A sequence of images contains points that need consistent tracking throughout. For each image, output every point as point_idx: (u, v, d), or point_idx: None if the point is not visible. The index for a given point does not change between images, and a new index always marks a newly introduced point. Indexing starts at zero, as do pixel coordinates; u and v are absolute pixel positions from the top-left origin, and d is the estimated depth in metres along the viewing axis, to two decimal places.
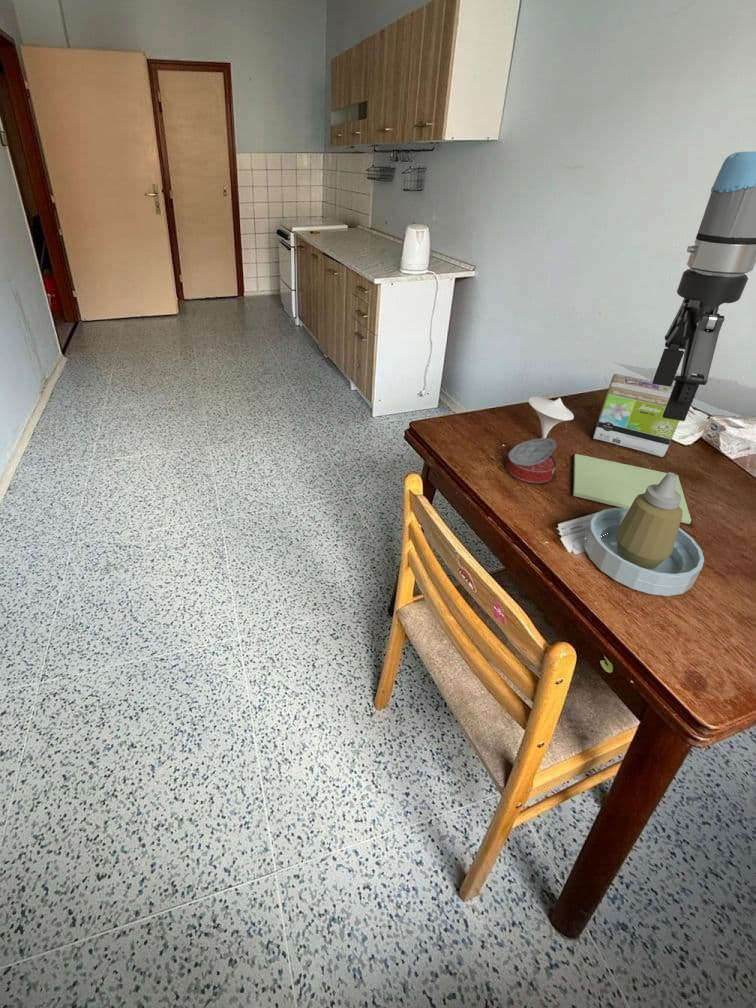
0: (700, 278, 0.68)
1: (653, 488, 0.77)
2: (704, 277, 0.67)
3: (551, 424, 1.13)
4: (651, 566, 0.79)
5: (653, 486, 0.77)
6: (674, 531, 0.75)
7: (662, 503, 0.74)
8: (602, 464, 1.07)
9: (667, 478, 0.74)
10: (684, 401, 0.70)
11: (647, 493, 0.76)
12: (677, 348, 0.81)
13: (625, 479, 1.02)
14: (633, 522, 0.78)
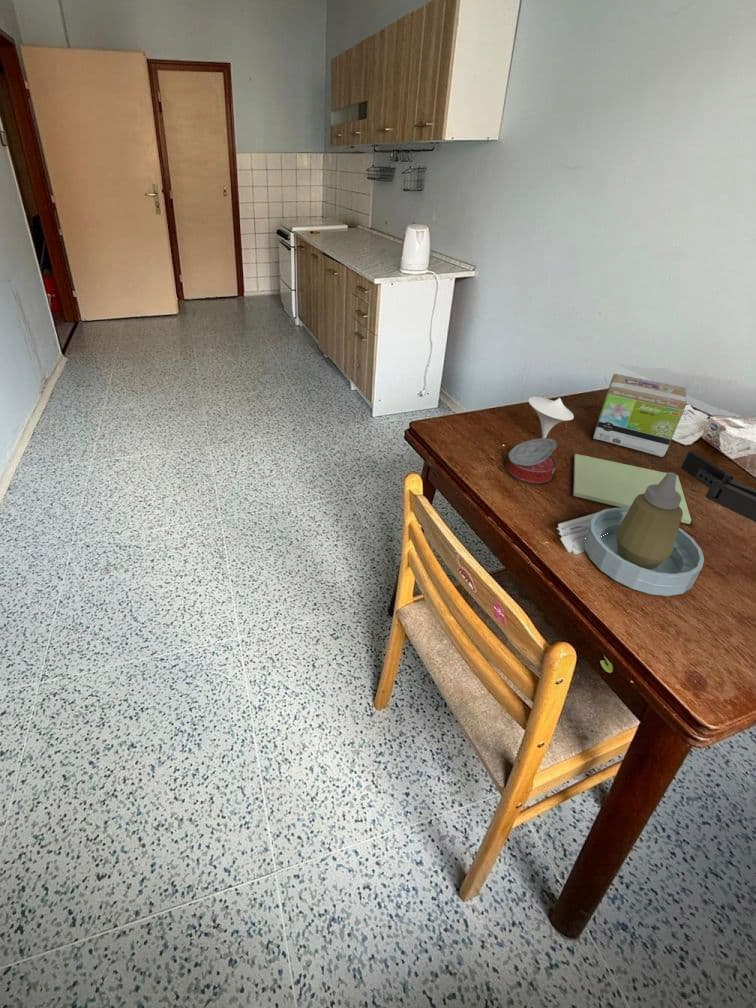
0: None
1: (653, 488, 0.77)
2: None
3: (551, 424, 1.13)
4: (651, 566, 0.79)
5: (653, 486, 0.77)
6: (674, 531, 0.75)
7: (662, 503, 0.74)
8: (602, 464, 1.07)
9: (667, 478, 0.74)
10: None
11: (647, 493, 0.76)
12: None
13: (625, 479, 1.02)
14: (633, 522, 0.78)
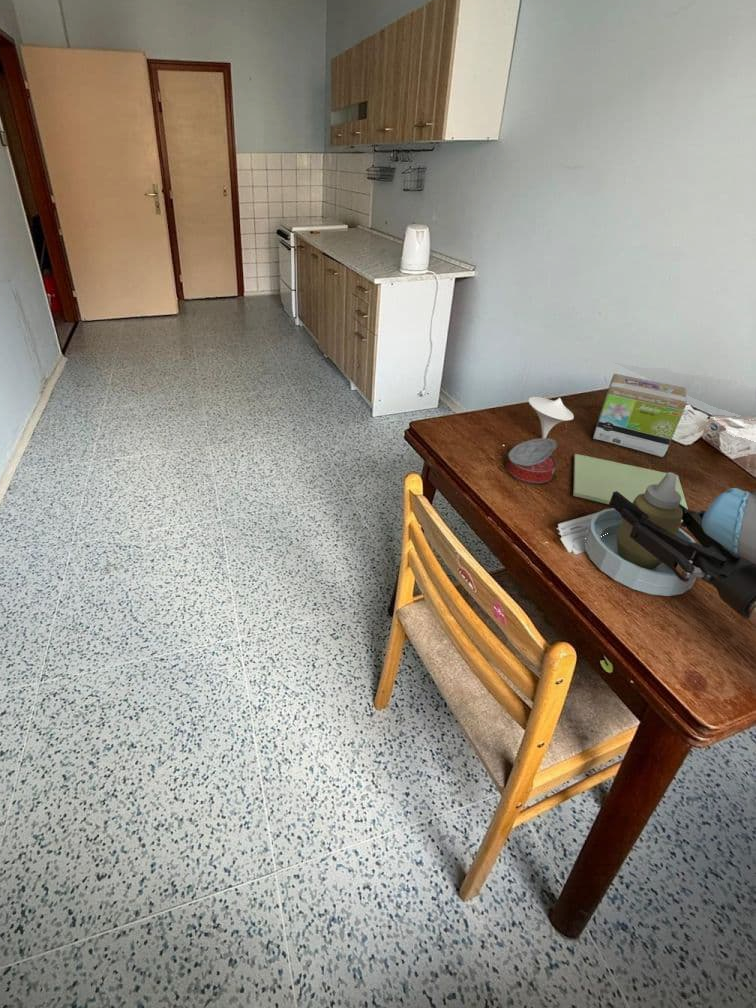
0: None
1: (653, 488, 0.77)
2: None
3: (551, 424, 1.13)
4: (651, 566, 0.79)
5: (653, 486, 0.77)
6: (674, 531, 0.75)
7: (662, 503, 0.74)
8: (602, 464, 1.07)
9: (667, 478, 0.74)
10: None
11: (647, 493, 0.76)
12: None
13: (625, 479, 1.02)
14: None
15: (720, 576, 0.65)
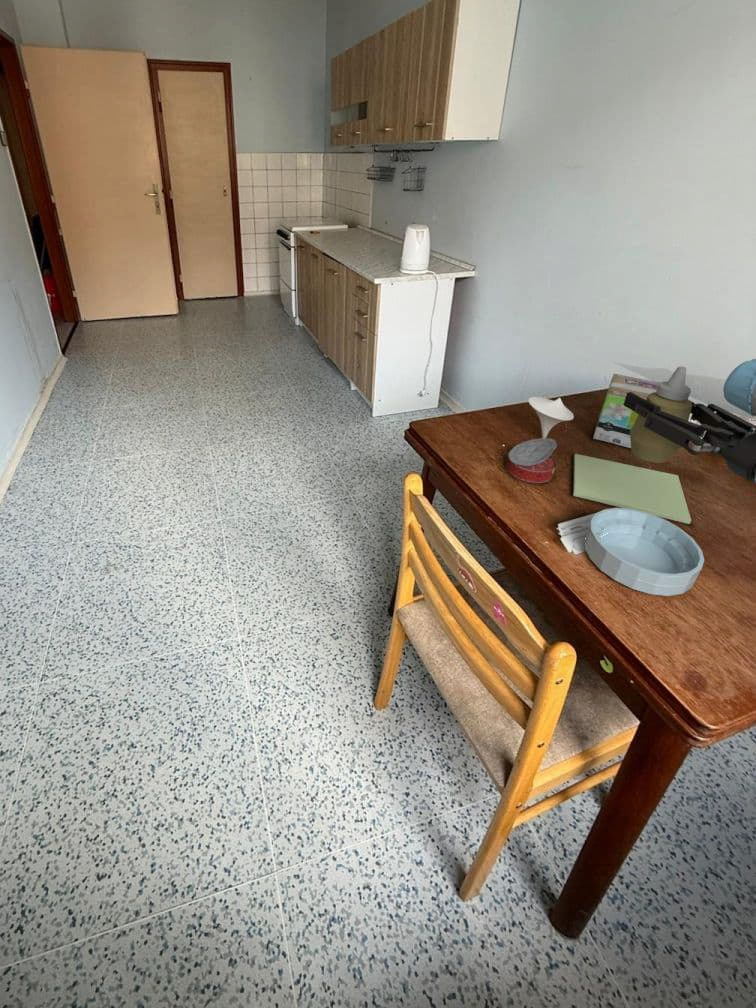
0: None
1: (665, 383, 0.83)
2: None
3: (551, 424, 1.13)
4: (663, 458, 0.86)
5: (664, 382, 0.84)
6: None
7: (673, 394, 0.81)
8: (602, 464, 1.07)
9: (678, 371, 0.81)
10: None
11: (659, 388, 0.83)
12: None
13: (625, 479, 1.02)
14: None
15: (728, 446, 0.72)
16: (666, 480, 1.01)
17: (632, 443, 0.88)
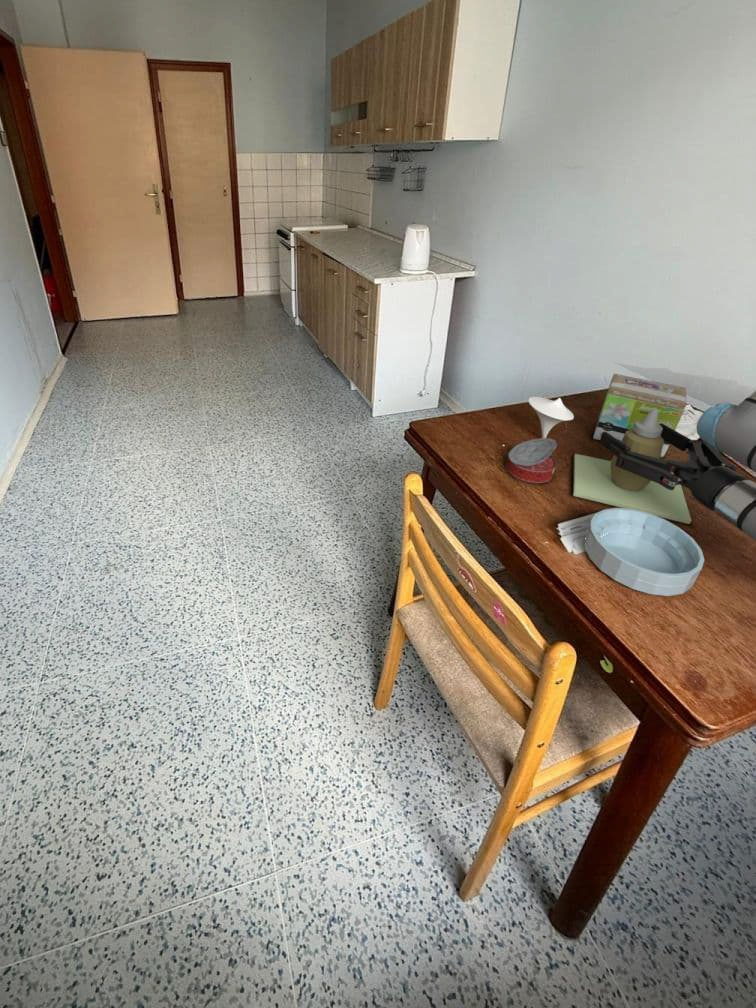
0: None
1: (640, 422, 0.94)
2: None
3: (551, 424, 1.13)
4: (638, 487, 0.97)
5: (640, 421, 0.95)
6: (657, 456, 0.93)
7: (647, 433, 0.92)
8: (602, 464, 1.07)
9: (651, 412, 0.92)
10: None
11: (635, 426, 0.94)
12: None
13: None
14: None
15: (692, 479, 0.83)
16: None
17: (612, 473, 1.00)
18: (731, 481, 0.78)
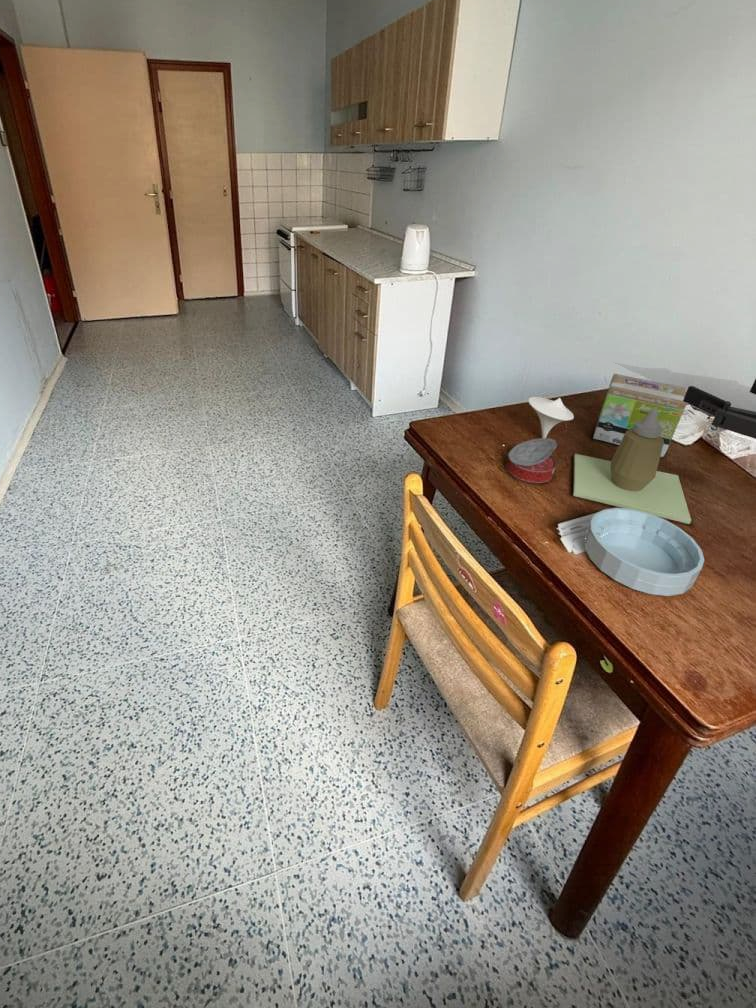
0: None
1: (640, 422, 0.94)
2: None
3: (551, 424, 1.13)
4: (638, 487, 0.97)
5: (640, 421, 0.95)
6: (657, 456, 0.93)
7: (647, 433, 0.92)
8: (602, 464, 1.07)
9: (651, 412, 0.92)
10: None
11: (635, 426, 0.94)
12: None
13: None
14: (624, 450, 0.96)
15: None
16: (666, 480, 1.01)
17: (612, 473, 1.00)
18: None
